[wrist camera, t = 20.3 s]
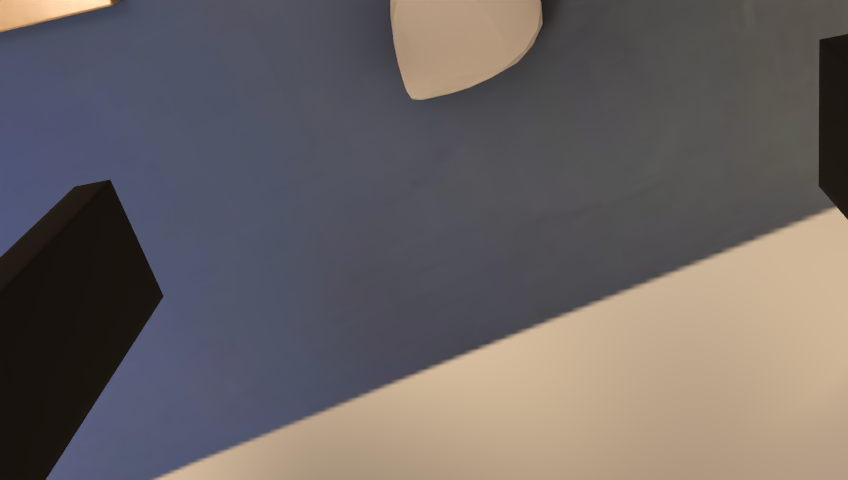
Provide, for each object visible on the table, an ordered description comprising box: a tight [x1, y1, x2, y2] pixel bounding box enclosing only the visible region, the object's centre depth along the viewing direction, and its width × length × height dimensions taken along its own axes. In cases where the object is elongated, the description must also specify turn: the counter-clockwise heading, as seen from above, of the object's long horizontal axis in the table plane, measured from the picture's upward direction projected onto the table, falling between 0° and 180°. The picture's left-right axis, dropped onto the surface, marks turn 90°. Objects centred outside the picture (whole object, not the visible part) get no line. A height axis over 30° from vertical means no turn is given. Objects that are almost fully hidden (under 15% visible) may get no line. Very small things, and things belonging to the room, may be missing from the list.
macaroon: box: [390, 0, 543, 100], centre depth 22 cm, size 4×5×2 cm
